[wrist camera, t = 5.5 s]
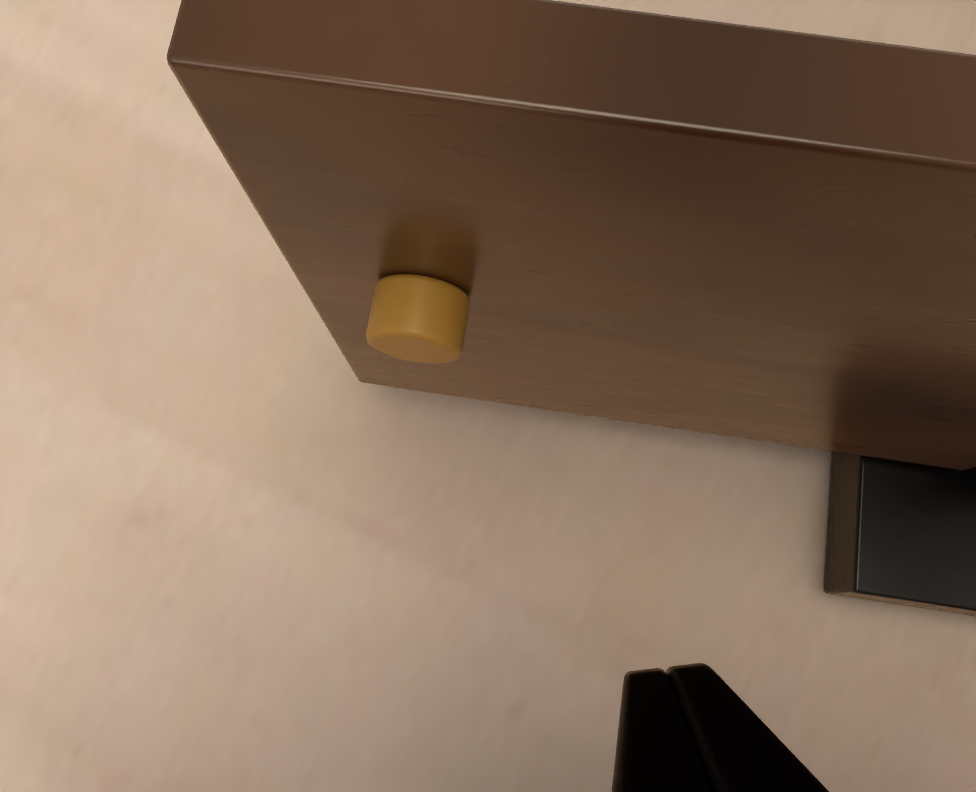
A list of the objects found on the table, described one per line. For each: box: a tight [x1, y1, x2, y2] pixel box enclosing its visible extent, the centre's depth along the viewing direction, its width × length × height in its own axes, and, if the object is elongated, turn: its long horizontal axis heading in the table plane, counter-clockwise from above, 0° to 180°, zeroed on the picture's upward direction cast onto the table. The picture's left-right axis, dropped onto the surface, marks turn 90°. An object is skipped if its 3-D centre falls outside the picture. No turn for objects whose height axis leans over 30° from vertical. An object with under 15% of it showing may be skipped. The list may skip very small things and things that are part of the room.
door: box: [167, 0, 976, 470], centre depth 11 cm, size 12×2×10 cm, turn 81°
